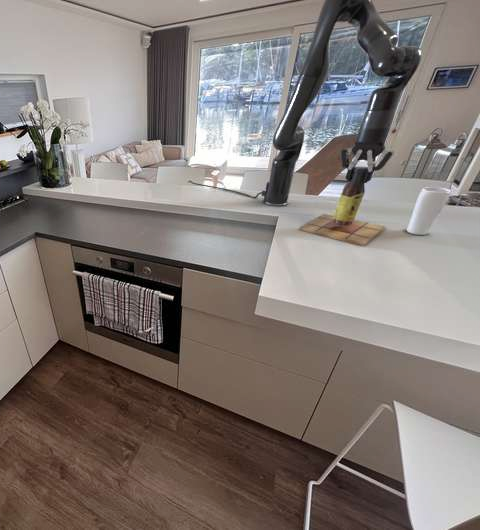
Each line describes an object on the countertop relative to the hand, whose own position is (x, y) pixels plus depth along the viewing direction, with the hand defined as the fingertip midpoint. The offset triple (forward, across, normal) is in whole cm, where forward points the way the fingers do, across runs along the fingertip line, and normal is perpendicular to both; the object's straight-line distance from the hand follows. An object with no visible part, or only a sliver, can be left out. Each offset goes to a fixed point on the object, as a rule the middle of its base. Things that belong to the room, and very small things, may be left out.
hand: (356, 181), depth 97 cm
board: (+18, 0, 0) cm, 18 cm away
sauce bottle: (+15, 0, 0) cm, 15 cm away
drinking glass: (+18, -18, -13) cm, 28 cm away
